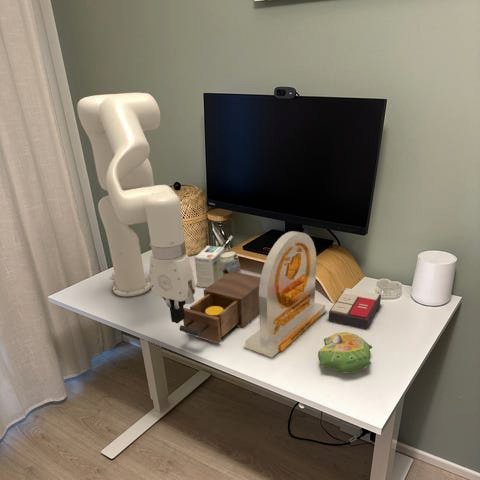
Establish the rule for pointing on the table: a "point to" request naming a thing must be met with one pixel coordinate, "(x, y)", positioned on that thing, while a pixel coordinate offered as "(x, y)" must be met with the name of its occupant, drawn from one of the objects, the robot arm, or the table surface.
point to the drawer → (211, 318)
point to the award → (286, 294)
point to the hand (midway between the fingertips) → (178, 320)
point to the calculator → (355, 308)
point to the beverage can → (229, 263)
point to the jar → (214, 310)
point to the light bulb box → (209, 265)
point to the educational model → (345, 353)
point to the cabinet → (239, 293)
